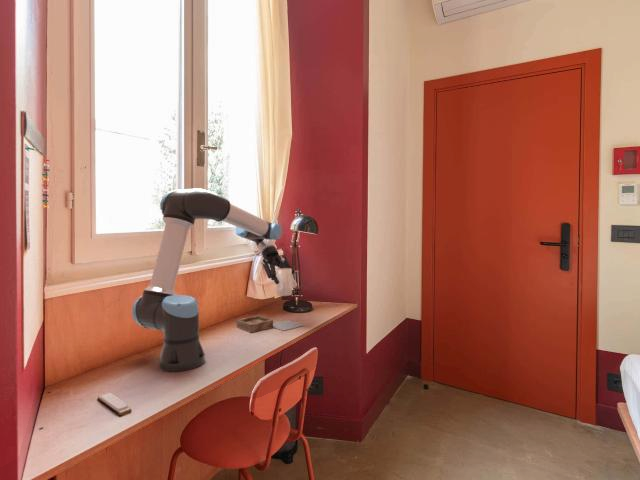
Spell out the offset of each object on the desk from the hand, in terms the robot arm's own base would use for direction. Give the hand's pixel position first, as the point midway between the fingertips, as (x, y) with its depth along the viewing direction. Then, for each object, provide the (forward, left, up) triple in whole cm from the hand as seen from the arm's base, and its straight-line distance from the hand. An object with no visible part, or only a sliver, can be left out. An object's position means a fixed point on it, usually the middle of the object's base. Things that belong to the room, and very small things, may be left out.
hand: (289, 287), depth 175 cm
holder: (-12, +11, -19) cm, 25 cm away
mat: (0, +3, -19) cm, 19 cm away
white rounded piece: (0, +2, -4) cm, 4 cm away
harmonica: (-80, -26, -19) cm, 86 cm away
